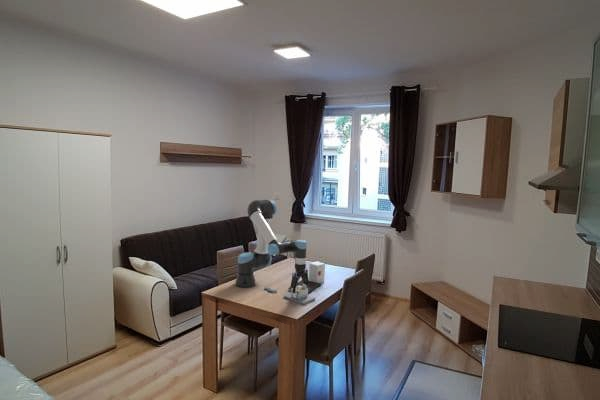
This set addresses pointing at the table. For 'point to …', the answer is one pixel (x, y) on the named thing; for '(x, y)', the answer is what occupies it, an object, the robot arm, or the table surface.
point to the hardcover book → (310, 286)
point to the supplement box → (316, 272)
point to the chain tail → (270, 290)
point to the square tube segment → (300, 292)
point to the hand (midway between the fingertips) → (299, 295)
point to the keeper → (302, 301)
